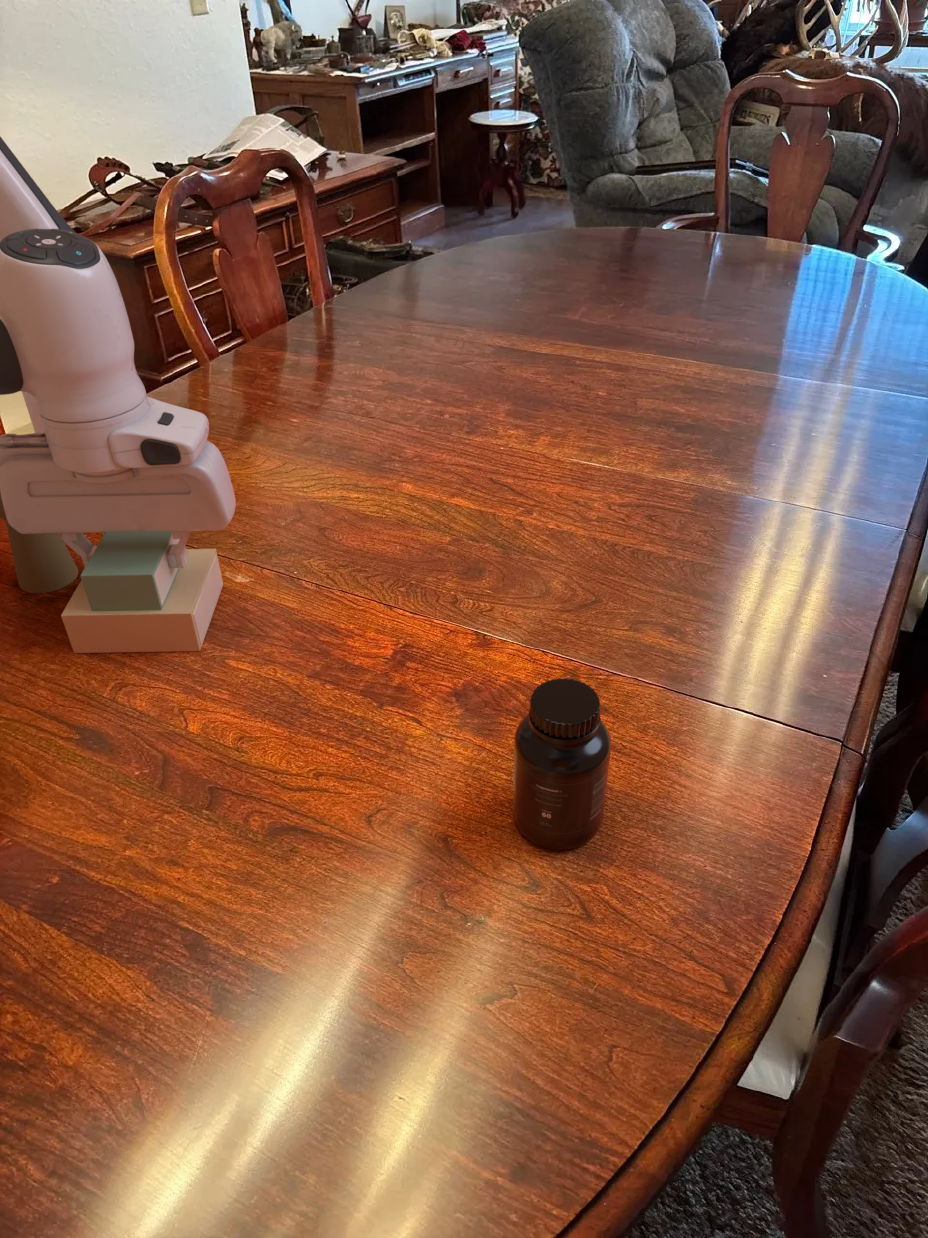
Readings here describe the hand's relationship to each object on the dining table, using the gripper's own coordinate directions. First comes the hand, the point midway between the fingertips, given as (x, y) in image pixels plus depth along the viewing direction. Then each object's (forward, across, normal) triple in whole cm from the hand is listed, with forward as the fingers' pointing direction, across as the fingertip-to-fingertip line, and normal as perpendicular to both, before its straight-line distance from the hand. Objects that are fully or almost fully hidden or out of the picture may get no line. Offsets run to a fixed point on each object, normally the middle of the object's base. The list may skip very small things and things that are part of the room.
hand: (138, 565), depth 88 cm
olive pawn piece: (+6, -13, +8) cm, 16 cm away
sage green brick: (+2, 0, 0) cm, 2 cm away
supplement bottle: (+6, +38, -26) cm, 47 cm away
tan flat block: (+6, 0, 0) cm, 6 cm away
